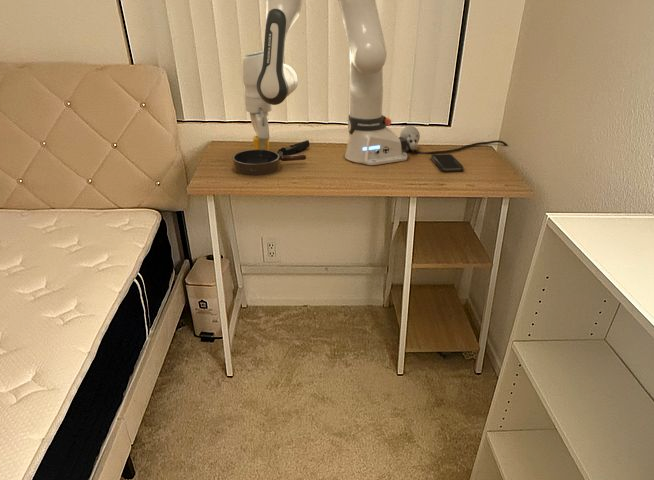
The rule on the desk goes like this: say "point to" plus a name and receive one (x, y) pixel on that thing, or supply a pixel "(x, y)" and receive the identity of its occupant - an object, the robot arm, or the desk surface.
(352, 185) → the desk surface
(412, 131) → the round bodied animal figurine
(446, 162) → the phone
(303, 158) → the pan handle
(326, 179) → the desk surface
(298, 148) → the electric trimmer
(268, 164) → the pan
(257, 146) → the yellow pepper
